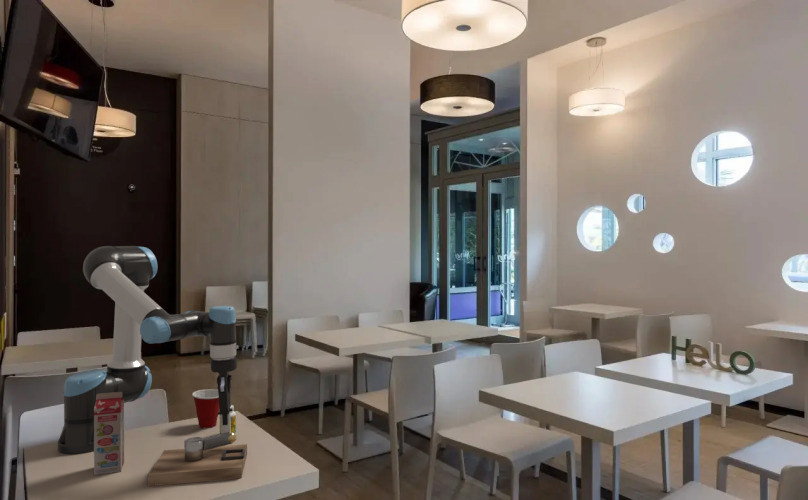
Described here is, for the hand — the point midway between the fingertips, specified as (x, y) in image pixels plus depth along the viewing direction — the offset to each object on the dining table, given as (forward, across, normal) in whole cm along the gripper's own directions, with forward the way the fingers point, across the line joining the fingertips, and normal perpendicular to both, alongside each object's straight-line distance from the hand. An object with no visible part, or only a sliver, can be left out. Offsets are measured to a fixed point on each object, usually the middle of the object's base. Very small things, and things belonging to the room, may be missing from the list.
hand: (225, 434), depth 162 cm
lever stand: (+7, -8, +6) cm, 12 cm away
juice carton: (+7, -2, +32) cm, 33 cm away
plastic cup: (+8, +32, +10) cm, 34 cm away
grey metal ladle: (+3, -5, +4) cm, 7 cm away
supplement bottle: (+8, +21, +2) cm, 22 cm away
